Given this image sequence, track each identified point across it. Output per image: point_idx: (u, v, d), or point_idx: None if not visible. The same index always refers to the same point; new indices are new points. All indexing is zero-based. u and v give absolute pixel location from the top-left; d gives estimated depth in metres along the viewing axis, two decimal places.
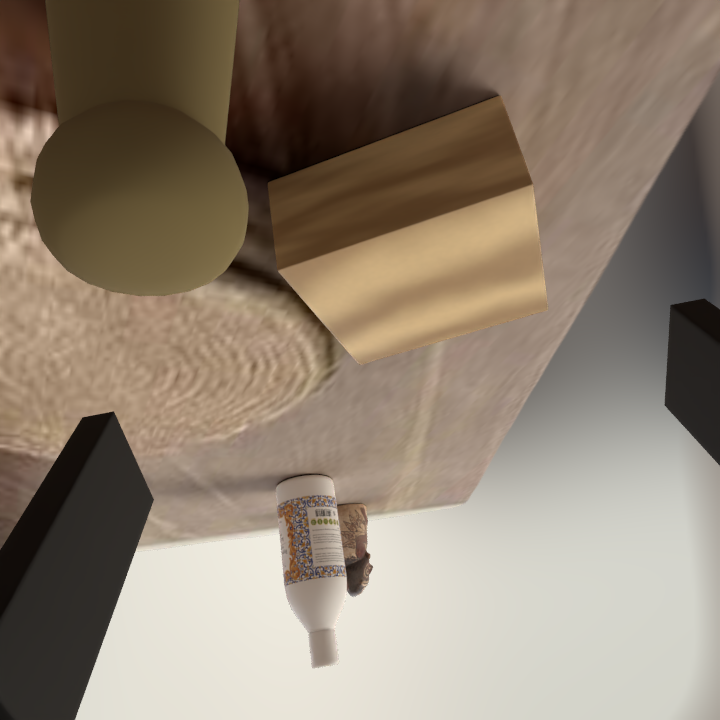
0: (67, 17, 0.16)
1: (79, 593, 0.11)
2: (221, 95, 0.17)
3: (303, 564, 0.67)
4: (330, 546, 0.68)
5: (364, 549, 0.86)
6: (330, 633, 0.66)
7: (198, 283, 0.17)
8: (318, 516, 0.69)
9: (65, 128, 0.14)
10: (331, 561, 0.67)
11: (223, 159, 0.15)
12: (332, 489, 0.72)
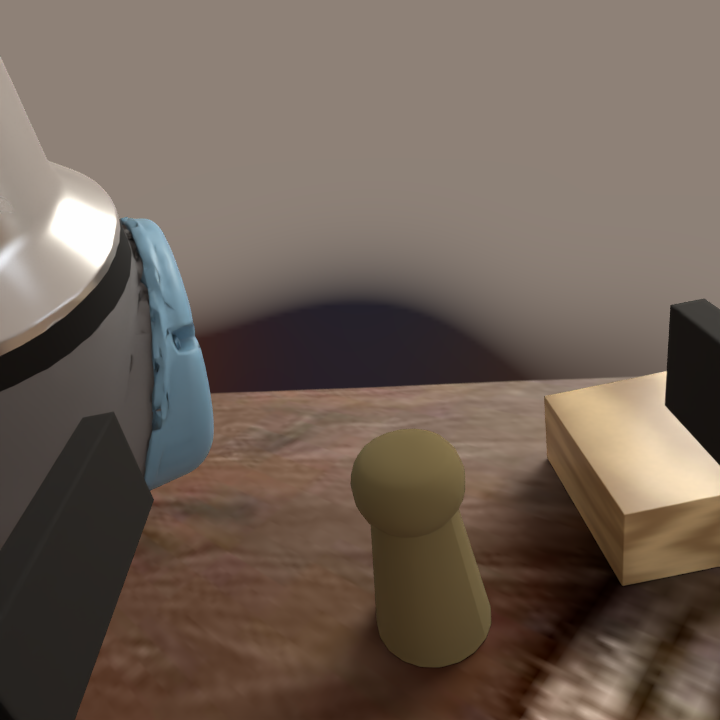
0: (376, 575, 0.30)
1: (79, 593, 0.11)
2: None
3: None
4: None
5: None
6: None
7: (438, 440, 0.28)
8: None
9: (357, 505, 0.28)
10: None
11: None
12: None
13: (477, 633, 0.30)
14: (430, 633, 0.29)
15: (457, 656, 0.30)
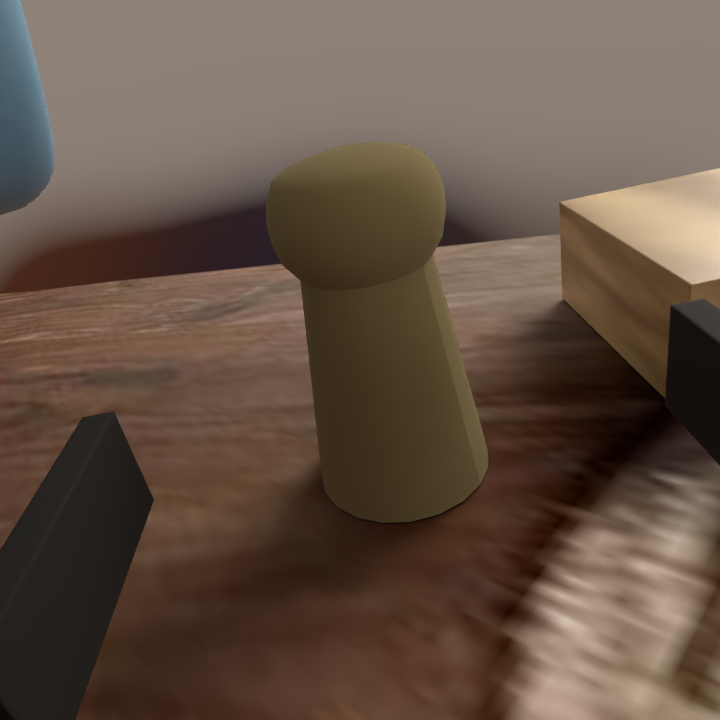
0: (313, 382, 0.20)
1: (79, 593, 0.11)
2: None
3: None
4: None
5: None
6: None
7: None
8: None
9: (276, 252, 0.18)
10: None
11: None
12: None
13: (467, 472, 0.20)
14: (394, 463, 0.19)
15: (437, 504, 0.20)
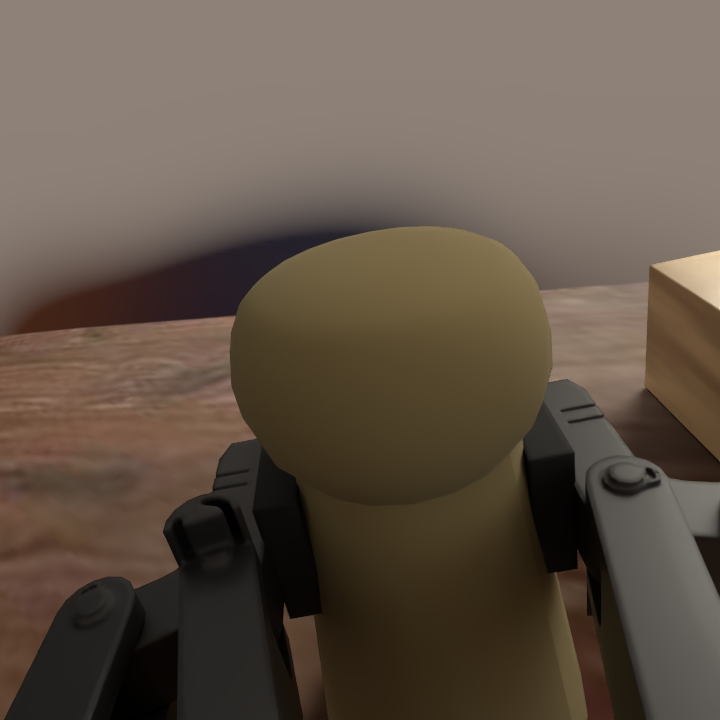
0: None
1: None
2: None
3: None
4: None
5: None
6: None
7: (472, 234, 0.10)
8: None
9: None
10: None
11: None
12: None
13: None
14: None
15: None
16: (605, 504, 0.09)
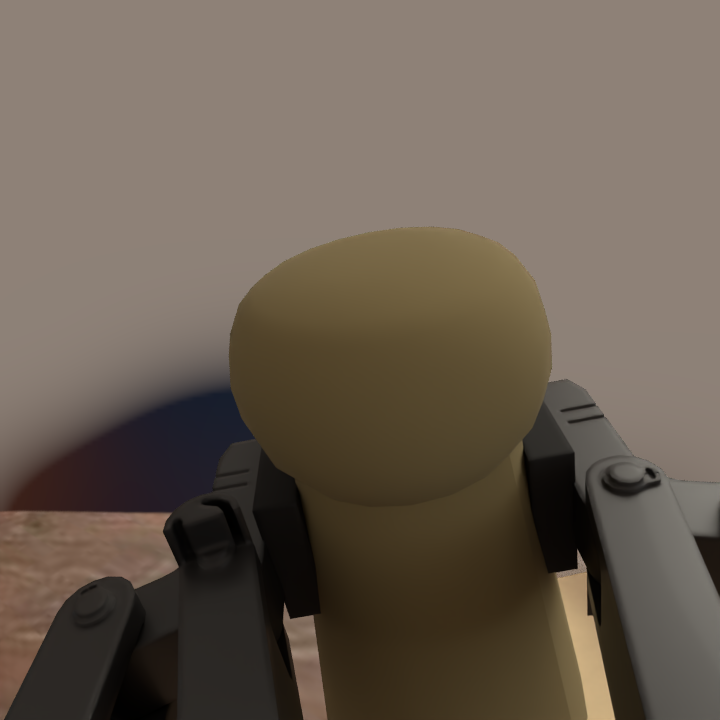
0: None
1: None
2: None
3: None
4: None
5: None
6: None
7: (472, 235, 0.10)
8: None
9: None
10: None
11: None
12: None
13: None
14: None
15: None
16: (605, 504, 0.09)
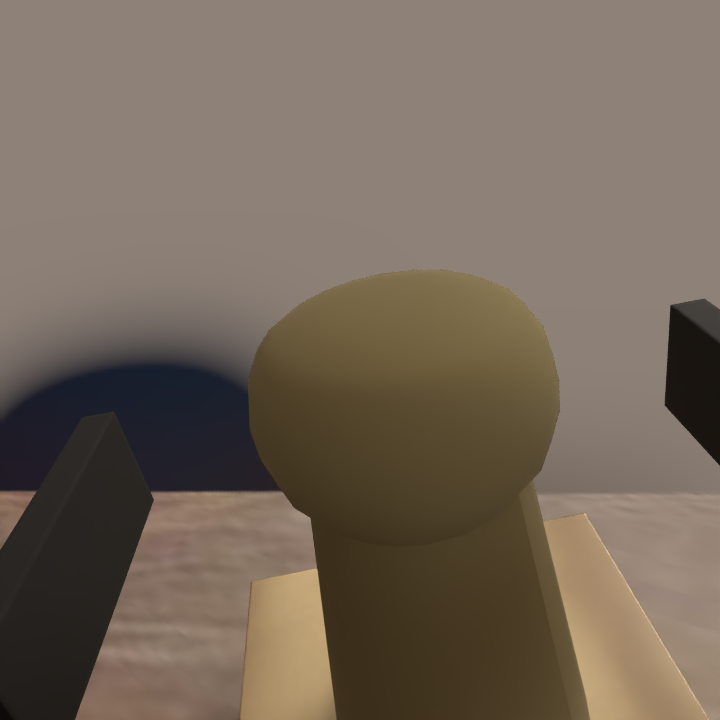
0: (328, 638, 0.12)
1: (78, 593, 0.11)
2: None
3: None
4: None
5: None
6: None
7: (482, 282, 0.10)
8: None
9: None
10: None
11: None
12: None
13: None
14: None
15: None
16: None
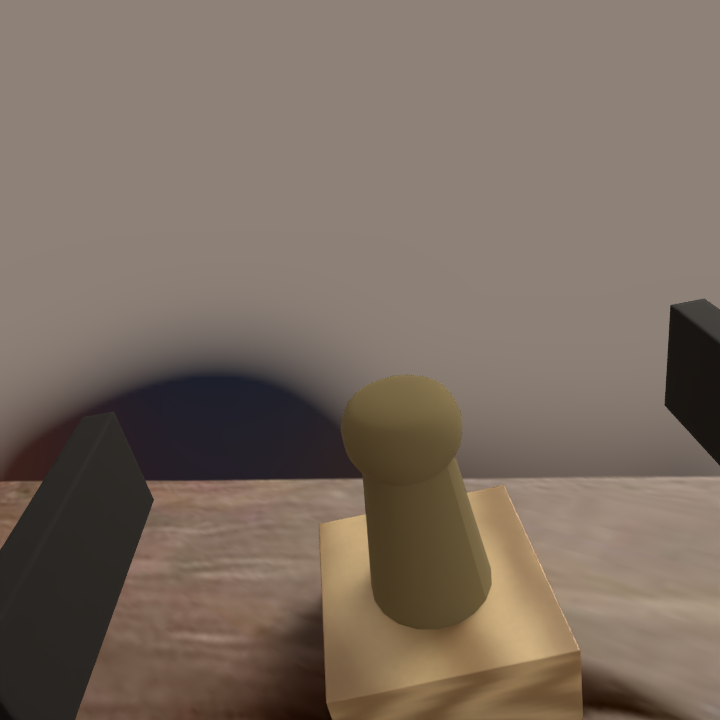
0: (370, 532, 0.28)
1: (79, 593, 0.11)
2: None
3: None
4: None
5: None
6: None
7: (433, 383, 0.26)
8: None
9: (348, 454, 0.27)
10: None
11: None
12: None
13: (477, 593, 0.29)
14: (427, 592, 0.27)
15: (456, 617, 0.28)
16: None
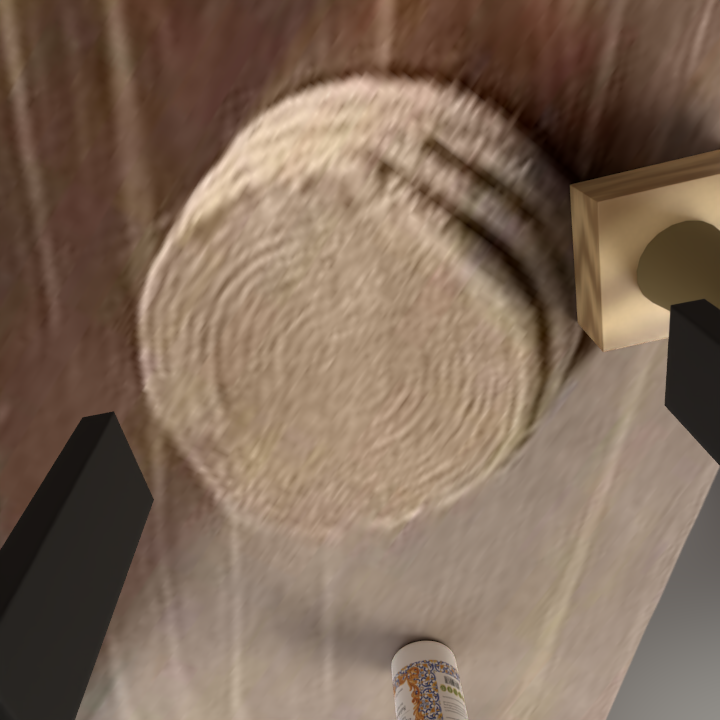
0: (709, 255, 0.36)
1: (79, 593, 0.11)
2: None
3: None
4: None
5: None
6: None
7: None
8: (447, 683, 0.61)
9: None
10: None
11: None
12: None
13: (654, 302, 0.41)
14: (656, 280, 0.39)
15: (641, 285, 0.41)
16: None
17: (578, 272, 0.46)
